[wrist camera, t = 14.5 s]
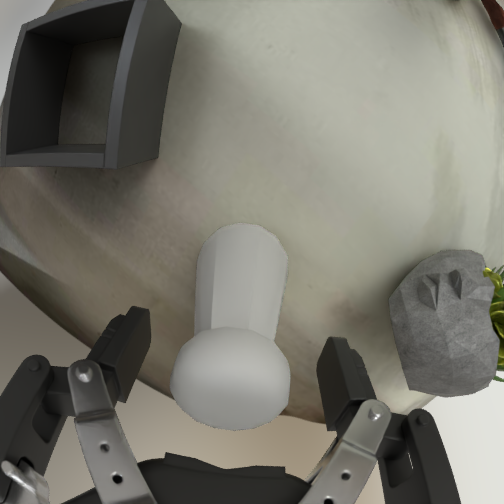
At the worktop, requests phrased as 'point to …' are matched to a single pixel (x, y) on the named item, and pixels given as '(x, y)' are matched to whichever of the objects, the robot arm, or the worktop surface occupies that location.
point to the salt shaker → (235, 332)
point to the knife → (495, 16)
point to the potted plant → (450, 324)
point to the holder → (123, 94)
